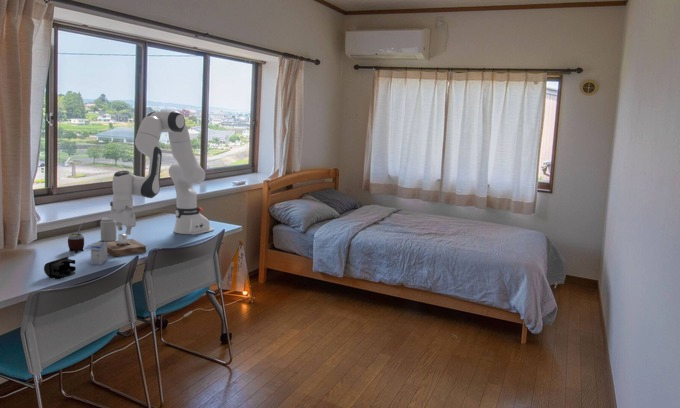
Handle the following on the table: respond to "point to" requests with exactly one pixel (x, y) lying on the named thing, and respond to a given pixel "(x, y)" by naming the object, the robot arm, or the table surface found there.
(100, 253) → the medicine box
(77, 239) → the mate gourd
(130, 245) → the block
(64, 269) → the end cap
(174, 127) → the robot arm
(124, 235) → the cylinder
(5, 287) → the table surface
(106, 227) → the can
